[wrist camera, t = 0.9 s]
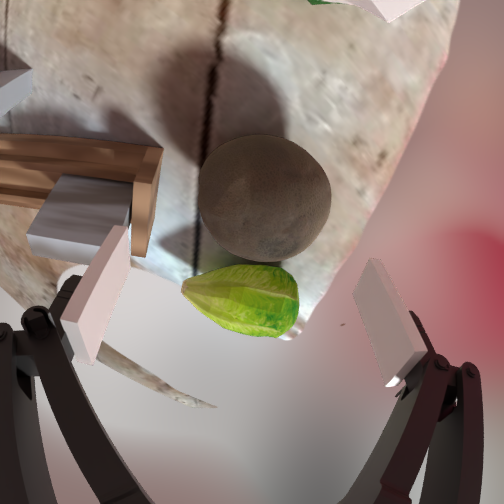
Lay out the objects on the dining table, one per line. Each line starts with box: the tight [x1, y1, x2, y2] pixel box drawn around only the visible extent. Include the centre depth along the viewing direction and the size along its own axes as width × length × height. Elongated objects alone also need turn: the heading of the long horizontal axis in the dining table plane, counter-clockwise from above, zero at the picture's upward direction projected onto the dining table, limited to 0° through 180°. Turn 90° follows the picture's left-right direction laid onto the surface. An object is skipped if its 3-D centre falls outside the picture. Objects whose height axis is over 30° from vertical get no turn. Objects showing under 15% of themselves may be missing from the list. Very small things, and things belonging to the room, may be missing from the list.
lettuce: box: [181, 264, 299, 338], centre depth 51 cm, size 14×20×12 cm
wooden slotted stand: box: [0, 133, 164, 265], centre depth 31 cm, size 12×30×14 cm, turn 73°
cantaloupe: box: [198, 134, 331, 262], centre depth 33 cm, size 14×14×15 cm
